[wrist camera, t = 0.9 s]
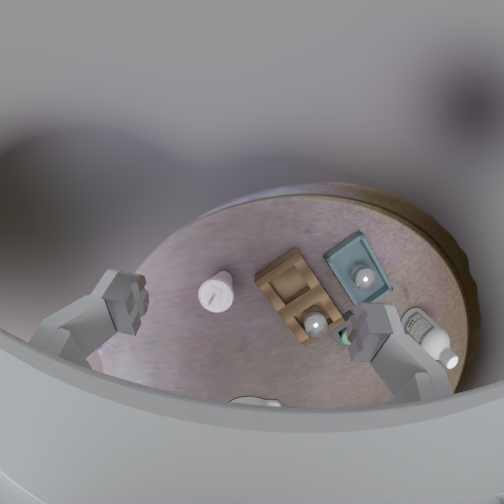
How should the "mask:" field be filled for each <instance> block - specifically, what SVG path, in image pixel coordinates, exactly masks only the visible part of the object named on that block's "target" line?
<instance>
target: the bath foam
mask: <svg viewBox="0 0 504 504" xmlns="http://www.w3.org/2000/svg"><path fill="white" fill-rule="evenodd" d="M401 324H402V327H403V330H404V332H405V334H408V335H409V336H411V337H412V338H413V339H414V340H415V341H416V342H417V343H418V344H419V345H420V346H421V347H422V348H423V349H424V350H425V351H426V352H427V353H428V354H429V355H431V356H432V357H433V358H434V359H435V360H441V361H442V363H443V364H444V365H445V366H446V367H447V368H448V369H451V368H453V367H454V366H455V365H456V364H457V362H458V357H457V356H456V355H455V354H454V353H453V352H452V351H451V350H450V340H449V337H448V334H447V333H446V331H445V330H444V329H443V328H442V327H441V326H440V325H438V324H437V323H436V322H435V321H434V320H433V319H432V318H431V317H430V316H428V315H427V314H426V313H425V312H424V311H423V310H422V309H420V308H412V309H410V310H408V311H407V312H406V313H405V314H404V316H403V317H402V320H401Z"/></svg>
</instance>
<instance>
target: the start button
mask: <svg viewBox="0 0 504 504" xmlns="http://www.w3.org/2000/svg"><path fill="white" fill-rule="evenodd" d="M340 333H341V335H342V336H341V339H342V342H343V343H344V344H346V345H350V344H351V343H350V342H349V341H348V340H347V335H346V328H344V329H343V330H341V331H340Z"/></svg>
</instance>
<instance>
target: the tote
mask: <svg viewBox="0 0 504 504" xmlns="http://www.w3.org/2000/svg"><path fill="white" fill-rule="evenodd" d="M323 257H324V258H325V260H326V261H327V263H328V265H329V266H330V268H331V269H332V271H333V272H334V274H335V275H336V277H337V278H338V280H339V282H340V283H341V285H342V286H343V288H344V289H345V291H346V293H347V294H348V296H349V297H350V299H351V301H352V302H353V304H354V306H355V305H356V304H357V303H358V302H374V303H376V302H377V301H379V300H380V299H381V298H383V297H384V296H385V295H387V294H388V293H389V292H391V291H392V290H393V287H392V285H391V283H390V281H389V279H388V278H387V276H386V274H385V272H384V270H383V268H382V266H381V264H380V263H379V261H378V259H377V257H376V255H375V254H374V252H373V250H372V248H371V247H370V245H369V243H368V241H367V240H366V238H365V236H364V234H363V233H361V232H359V231H357V232H355V233H354V234H353V235H351V236H350V237H349V238H347V239H346V240H344V241H343V242H342V243H340V244H339V245H337V246H336V247H334V248H333V249H332V250H330V251H329V252H327V253H326V254H325V255H323ZM355 262H363V263H365V264H366V265H367V266H368V267H370V268H371V269H372V270H373V271H374V272H376V274H377V276H378V283H377V285H376V287H375V288H374V289H373V290H371V291H368V292H364V291H362V290H360V289H359V288H358V286H357V285H356V284H355V283H354V282H353V281H352V280H351V278H350V277H349V269H350V267H351V265H352V264H354V263H355Z"/></svg>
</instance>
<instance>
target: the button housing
mask: <svg viewBox="0 0 504 504" xmlns="http://www.w3.org/2000/svg"><path fill="white" fill-rule="evenodd" d="M351 315H352V313H351V312H350V311H348V312H347V313H345V314H344V315H342V317H343V318H344V320H345V322H344V323H342V324H341V325H339V326H338V327H336V328H335V329H333V330H332V331H330V333H331V334H332V336H333V337H334V338H335V340H336V341H337V343H338V344H339V346H340V347H341V348H342V350H343V349H344V348H346V347H347V346H349V345H346V344H344V343H343V342H342V339H341V335H340V333H339V332H340V331H341V330H343V329H344V328H346V327H347V322H348V320H349V318H350V316H351ZM350 345H351V344H350Z"/></svg>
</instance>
